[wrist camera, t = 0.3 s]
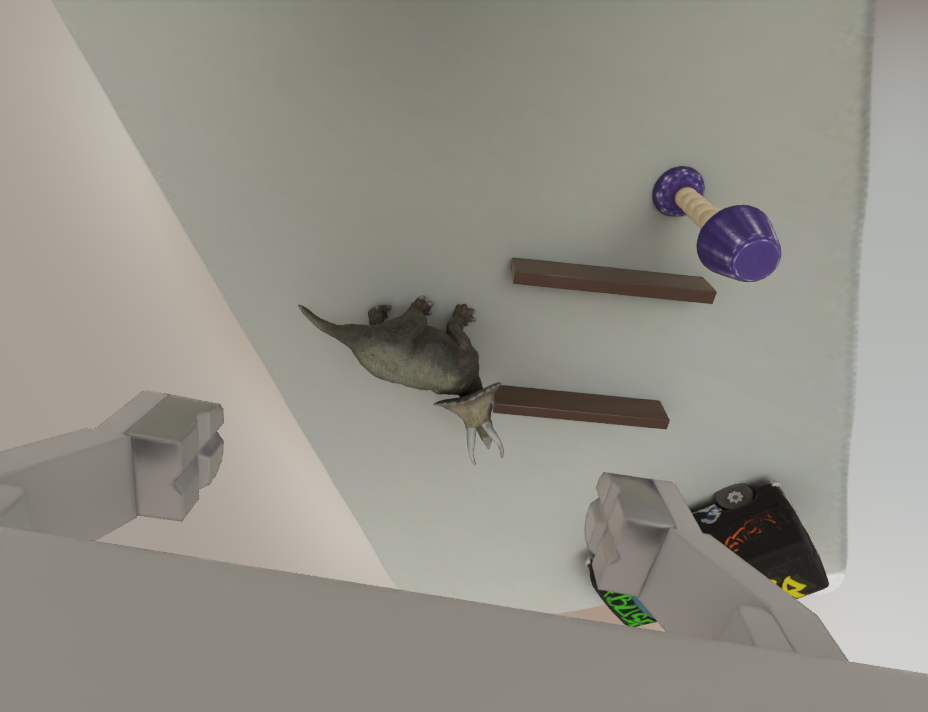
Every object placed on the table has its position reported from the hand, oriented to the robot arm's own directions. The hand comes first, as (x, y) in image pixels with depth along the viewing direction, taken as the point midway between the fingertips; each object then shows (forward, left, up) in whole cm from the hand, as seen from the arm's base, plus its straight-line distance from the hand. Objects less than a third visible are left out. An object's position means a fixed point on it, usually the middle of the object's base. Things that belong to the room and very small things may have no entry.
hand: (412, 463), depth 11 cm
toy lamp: (+1, +18, -39) cm, 43 cm away
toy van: (+43, +32, -39) cm, 66 cm away
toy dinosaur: (+16, -3, -39) cm, 43 cm away
